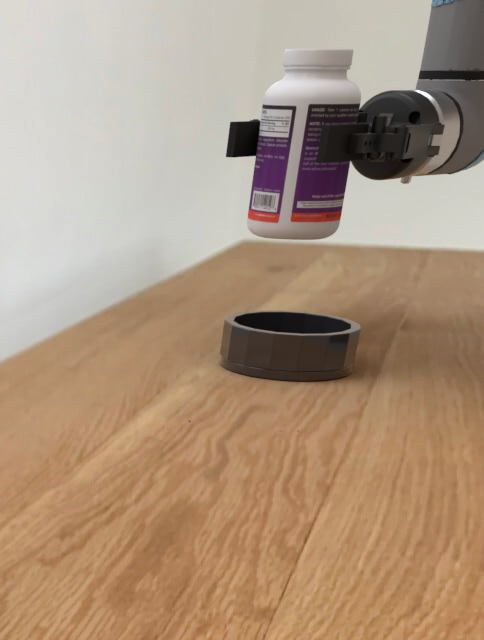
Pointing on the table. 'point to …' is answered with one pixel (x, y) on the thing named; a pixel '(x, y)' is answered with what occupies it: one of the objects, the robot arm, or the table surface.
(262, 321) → the ring
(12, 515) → the table surface
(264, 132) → the pill bottle
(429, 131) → the robot arm
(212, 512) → the table surface
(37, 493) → the table surface
